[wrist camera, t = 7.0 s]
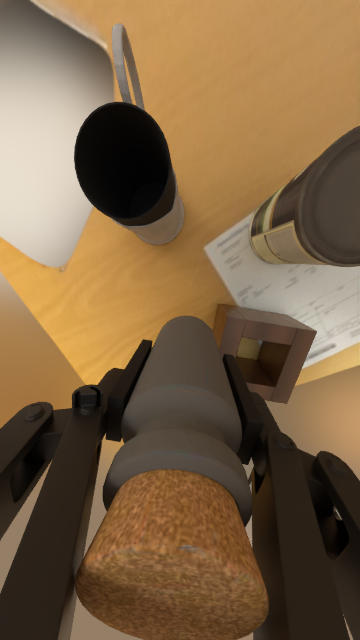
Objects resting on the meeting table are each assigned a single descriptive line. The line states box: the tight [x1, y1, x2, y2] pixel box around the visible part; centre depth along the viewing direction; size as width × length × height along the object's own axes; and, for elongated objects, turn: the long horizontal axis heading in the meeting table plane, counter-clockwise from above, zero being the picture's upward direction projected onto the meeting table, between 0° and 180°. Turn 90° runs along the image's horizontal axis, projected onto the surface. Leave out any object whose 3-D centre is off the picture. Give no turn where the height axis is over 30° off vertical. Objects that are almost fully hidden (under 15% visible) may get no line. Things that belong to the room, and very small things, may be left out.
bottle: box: [75, 316, 269, 640], centre depth 11 cm, size 6×6×15 cm
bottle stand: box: [212, 304, 317, 404], centre depth 30 cm, size 12×12×8 cm
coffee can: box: [249, 126, 360, 267], centre depth 21 cm, size 10×10×14 cm
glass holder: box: [74, 24, 185, 245], centre depth 20 cm, size 9×14×15 cm, turn 1°
